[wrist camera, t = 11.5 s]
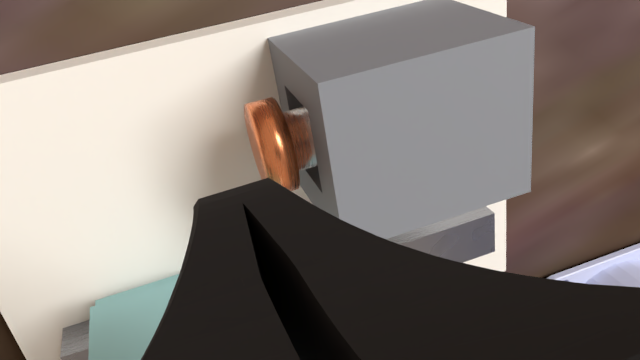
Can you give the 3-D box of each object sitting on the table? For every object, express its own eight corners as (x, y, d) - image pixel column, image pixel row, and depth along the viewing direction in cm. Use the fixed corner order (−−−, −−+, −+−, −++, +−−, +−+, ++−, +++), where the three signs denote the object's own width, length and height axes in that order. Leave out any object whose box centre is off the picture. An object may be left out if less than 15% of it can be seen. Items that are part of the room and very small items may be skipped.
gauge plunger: (424, 43, 19) (470, 66, 17) (429, 123, 20) (473, 154, 18) (238, 91, 18) (259, 123, 15) (256, 172, 19) (279, 214, 17)
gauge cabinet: (440, -5, 20) (535, 26, 15) (447, 132, 22) (530, 191, 18) (267, 37, 18) (317, 83, 14) (294, 177, 21) (345, 252, 16)
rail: (473, 195, 24) (494, 213, 22) (474, 232, 25) (494, 251, 23) (62, 328, 20) (60, 357, 19) (80, 365, 21) (79, 396, 20)
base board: (490, -39, 21) (506, -35, 20) (493, 258, 27) (505, 270, 26) (-100, 98, 17) (-110, 109, 16) (65, 408, 23) (63, 428, 22)
